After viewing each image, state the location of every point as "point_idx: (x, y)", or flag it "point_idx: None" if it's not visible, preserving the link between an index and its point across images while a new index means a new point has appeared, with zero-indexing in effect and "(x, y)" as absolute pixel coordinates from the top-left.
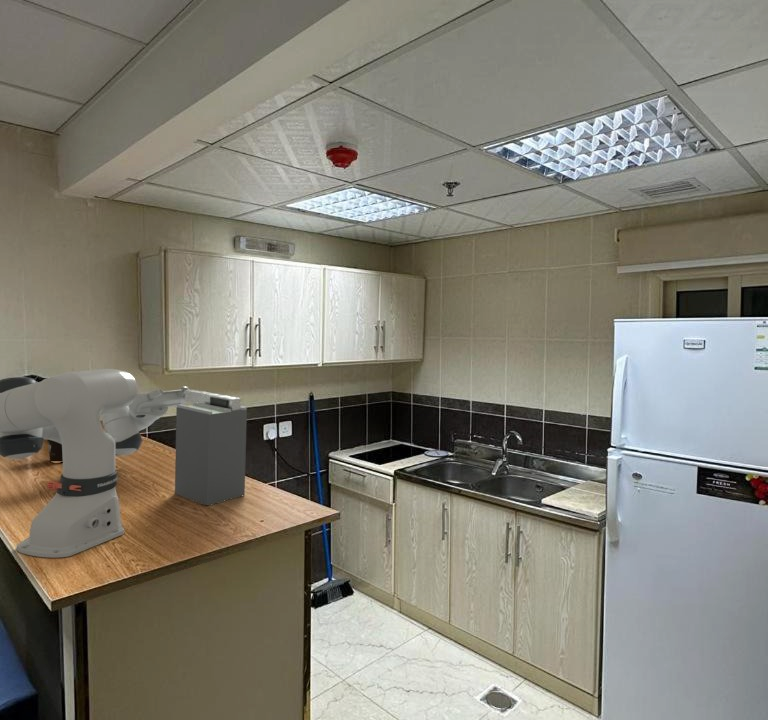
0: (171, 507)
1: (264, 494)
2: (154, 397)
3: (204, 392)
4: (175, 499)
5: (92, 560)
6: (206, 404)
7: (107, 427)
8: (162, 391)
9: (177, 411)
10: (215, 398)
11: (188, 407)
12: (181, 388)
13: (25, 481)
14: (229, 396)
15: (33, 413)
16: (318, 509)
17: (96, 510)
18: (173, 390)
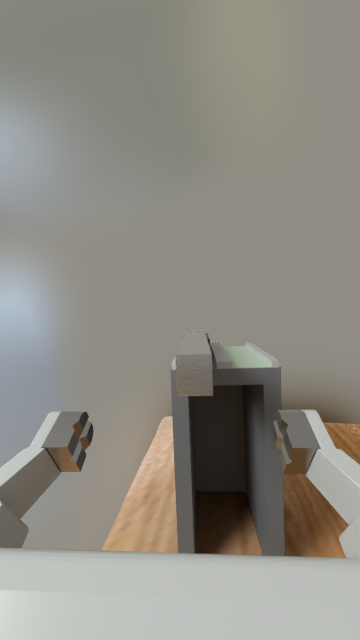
0: (308, 512)
1: (162, 471)
2: (341, 512)
3: (191, 341)
4: (292, 542)
5: None
6: (217, 354)
7: None
8: (274, 423)
9: (279, 376)
10: (208, 337)
11: (265, 352)
12: (69, 442)
13: None
14: (188, 332)
15: None
16: (166, 424)
17: None
18: (45, 552)
